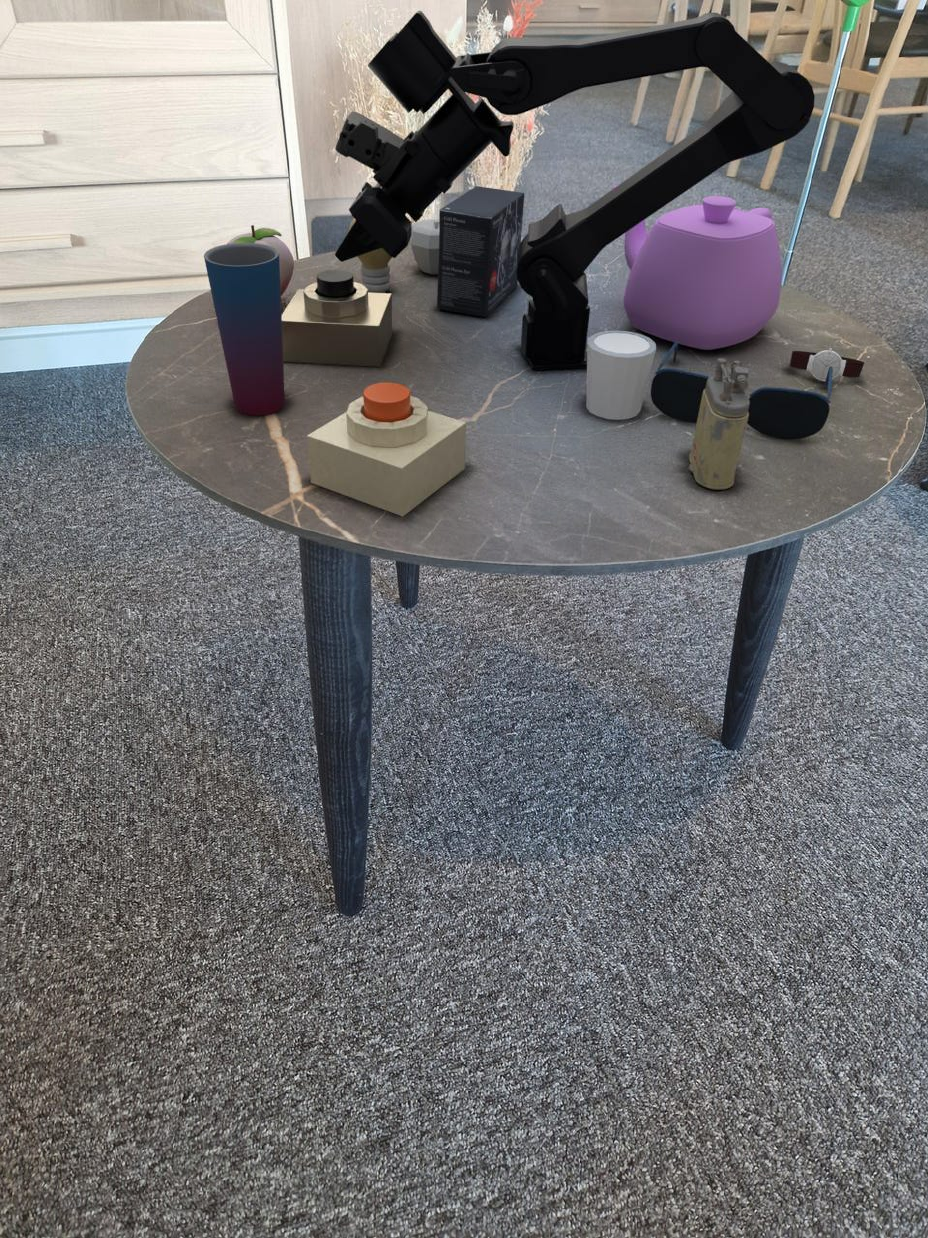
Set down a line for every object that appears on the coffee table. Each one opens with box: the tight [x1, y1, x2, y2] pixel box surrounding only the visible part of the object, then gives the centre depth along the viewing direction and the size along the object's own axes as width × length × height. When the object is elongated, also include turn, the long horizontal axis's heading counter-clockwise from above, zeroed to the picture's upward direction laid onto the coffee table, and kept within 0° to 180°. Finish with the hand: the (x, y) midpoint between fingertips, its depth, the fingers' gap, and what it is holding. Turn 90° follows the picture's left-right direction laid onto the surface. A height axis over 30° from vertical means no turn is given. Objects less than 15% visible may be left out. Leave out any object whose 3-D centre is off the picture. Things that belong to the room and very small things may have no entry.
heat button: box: [316, 269, 355, 298], centre depth 103 cm, size 4×4×2 cm
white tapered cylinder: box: [585, 330, 657, 421], centre depth 94 cm, size 7×7×7 cm
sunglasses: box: [650, 342, 833, 440], centre depth 98 cm, size 17×15×5 cm
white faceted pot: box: [409, 218, 439, 276], centre depth 126 cm, size 8×8×7 cm
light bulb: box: [348, 217, 393, 293], centre depth 119 cm, size 6×6×10 cm
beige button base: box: [281, 281, 393, 368], centre depth 105 cm, size 11×10×6 cm
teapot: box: [611, 184, 783, 351], centre depth 112 cm, size 23×21×15 cm
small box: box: [436, 185, 525, 318], centre depth 117 cm, size 13×7×12 cm, turn 160°
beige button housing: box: [306, 395, 467, 518], centre depth 82 cm, size 10×10×6 cm
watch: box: [789, 347, 865, 382], centre depth 103 cm, size 8×5×4 cm, turn 70°
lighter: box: [688, 358, 750, 490], centre depth 83 cm, size 7×4×10 cm, turn 177°
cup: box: [203, 243, 286, 416], centre depth 90 cm, size 7×7×15 cm
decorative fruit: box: [226, 224, 295, 297], centre depth 113 cm, size 9×8×10 cm
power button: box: [362, 382, 411, 422], centre depth 80 cm, size 4×4×2 cm
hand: (338, 257), depth 101 cm, fingers closed
